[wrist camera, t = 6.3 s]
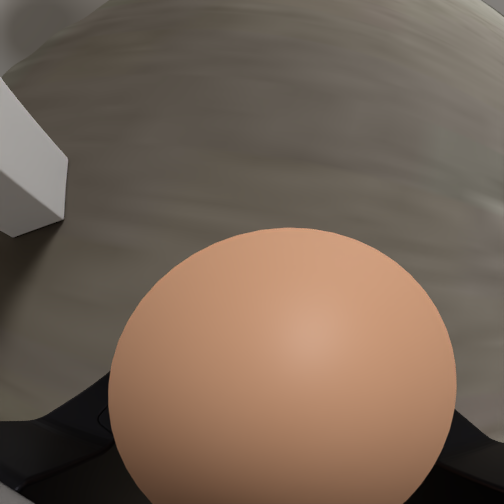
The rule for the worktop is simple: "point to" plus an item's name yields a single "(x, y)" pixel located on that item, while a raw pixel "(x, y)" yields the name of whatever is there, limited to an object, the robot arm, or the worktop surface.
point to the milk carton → (28, 170)
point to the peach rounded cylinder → (283, 376)
